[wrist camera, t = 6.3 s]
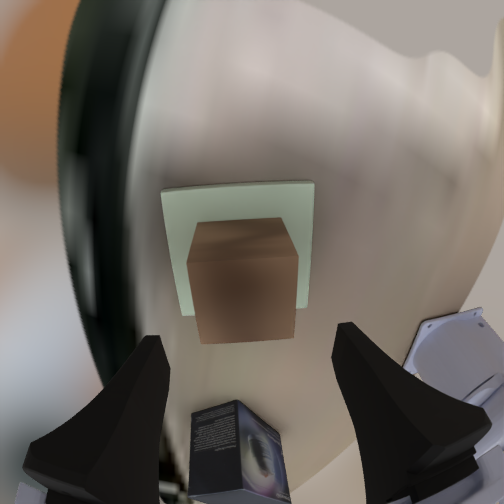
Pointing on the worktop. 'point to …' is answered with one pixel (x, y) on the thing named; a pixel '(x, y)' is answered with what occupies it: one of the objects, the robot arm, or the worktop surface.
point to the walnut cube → (243, 280)
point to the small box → (235, 458)
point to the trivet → (235, 208)
